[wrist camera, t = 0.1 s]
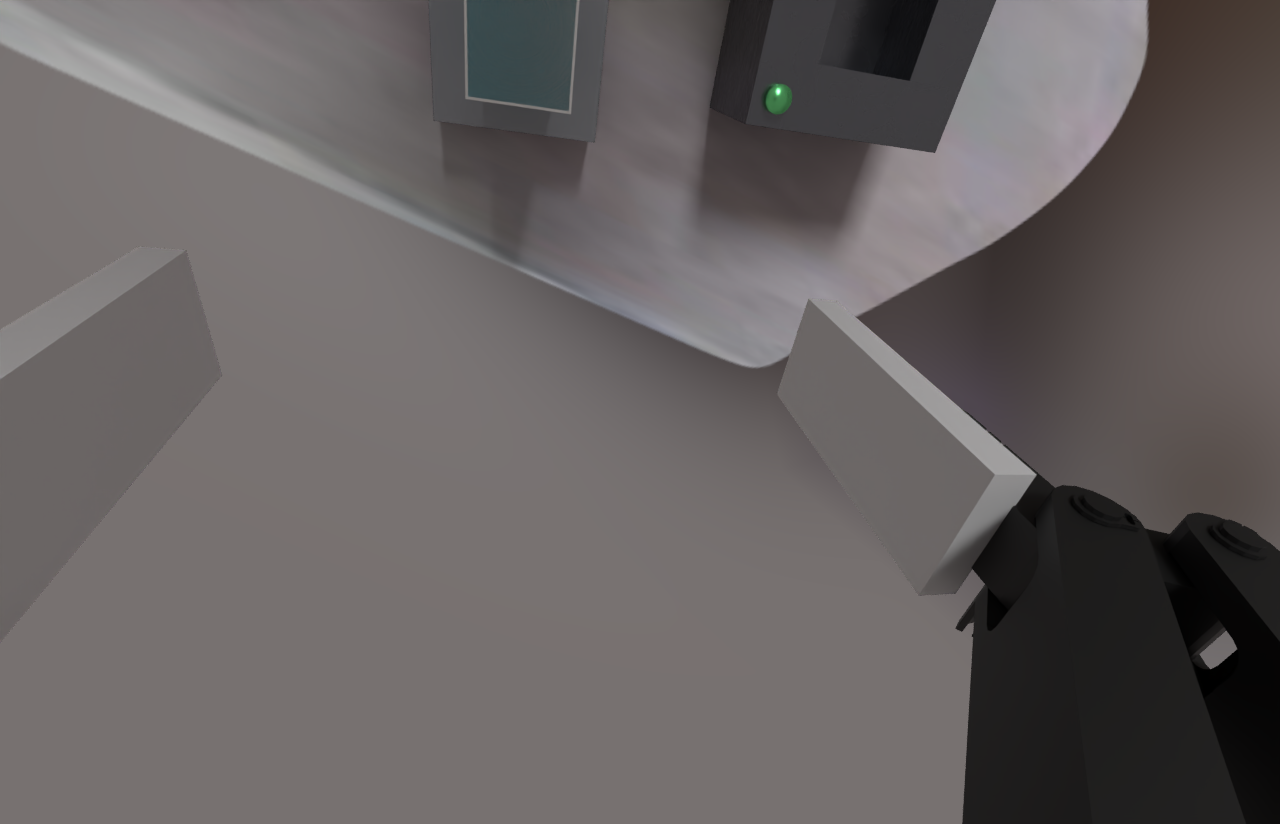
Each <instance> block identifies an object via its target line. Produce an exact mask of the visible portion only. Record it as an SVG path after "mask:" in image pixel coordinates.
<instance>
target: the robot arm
mask: <svg viewBox="0 0 1280 824" xmlns="http://www.w3.org/2000/svg"><path fill="white" fill-rule="evenodd" d="M221 376H222V373H221V369H220V366H219V362H218V359H217V356H216V352H215V349H214V345H213V342H212V338H211V335H210V331H209V328H208V324H207V321H206V317H205V314H204V311H203V307H202V303H201V300H200V297H199V293H198V290H197V286H196V282H195V279H194V275H193V272H192V269H191V265H190V262H189V258H188V255H187V251H186V250H178V249H165V248H152V247H137V248H136V249H134V250H132V251H131V252H129V253H127V254H126V255H124V256H122V257H121V258H119V259H117V260H115V261H114V262H112V263H111V264H109V265H107V266H105V267H104V268H102V269H100V270H99V271H97V272H95V273H94V274H92V275H90V276H89V277H87V278H85V279H84V280H82V281H80V282H79V283H77V284H75V285H74V286H72V287H70V288H69V289H67V290H65V291H64V292H62V293H60V294H59V295H57V296H55V297H54V298H52V299H51V300H48V301H47V302H45V303H44V304H42V305H40V306H39V307H37V308H35V309H34V310H32V311H30V312H28V313H27V314H25V315H23V316H22V317H20V318H19V319H17V320H15V321H13V322H12V323H10V324H9V325H7V326H5V327H4V328H2V329H0V643H1V641H2V640H3V639H4V638H5V636H6V635H7V634H8V633H9V632H10V630H11V629H12V628H13V627H14V626H15V624H16V623H17V622H18V621H19V620H20V618H21V617H22V616H23V615H24V614H25V612H26V611H27V610H28V609H29V608H30V606H31V605H32V604H33V603H34V602H35V600H36V599H37V598H38V597H39V596H40V594H41V593H42V592H43V591H44V589H45V588H46V587H47V586H48V585H49V583H50V582H51V581H52V580H53V578H54V577H55V576H56V575H57V574H58V573H59V571H60V570H61V569H62V568H63V566H64V565H65V564H66V563H67V562H68V560H69V559H70V558H71V557H72V556H73V554H74V553H75V552H76V551H77V550H78V548H79V547H80V546H81V545H82V544H83V542H84V541H85V540H86V539H87V538H88V536H89V535H90V534H91V533H92V531H93V530H94V529H95V528H96V527H97V526H98V524H99V523H100V522H101V521H102V519H103V518H104V517H105V516H106V515H107V513H108V512H109V511H110V510H111V508H112V507H113V506H114V505H115V504H116V503H117V501H118V500H119V499H120V498H121V496H122V495H123V494H124V493H125V492H126V490H127V489H128V488H129V487H130V486H131V485H132V483H133V482H134V481H135V480H136V478H137V477H138V476H139V475H140V474H141V472H142V471H143V470H144V469H145V468H146V466H147V465H148V464H149V463H150V462H151V460H152V459H153V458H154V457H155V455H156V454H157V453H158V452H159V451H160V449H161V448H162V447H163V446H164V445H165V443H166V442H167V441H168V440H169V439H170V437H171V436H172V435H173V434H174V433H175V431H176V430H177V429H178V428H179V426H180V425H181V424H182V423H183V422H184V421H185V419H186V418H187V417H188V416H189V415H190V413H191V412H192V411H193V410H194V408H195V407H196V406H197V405H198V403H199V402H200V401H201V400H202V399H203V398H204V396H205V395H206V394H207V393H208V392H209V390H210V389H211V388H212V387H213V386H214V384H215V383H216V382H217V381H218V380H219V378H220V377H221ZM777 395H778V396H779V398H780V399H781V400H782V402H783V403H784V405H785V406H786V407H787V409H788V410H789V412H790V413H791V415H792V416H793V418H794V419H795V420H796V422H797V423H798V425H799V426H800V428H801V429H802V430H803V432H804V433H805V435H806V436H807V437H808V439H809V440H810V442H811V443H812V445H813V446H814V447H815V449H816V450H817V452H818V453H819V454H820V456H821V457H822V459H823V460H824V462H825V463H826V464H827V466H828V467H829V469H830V470H831V471H832V473H833V474H834V476H835V477H836V479H837V480H838V481H839V483H840V484H841V486H842V487H843V489H844V490H845V491H846V493H847V494H848V496H849V497H850V499H851V500H852V501H853V503H854V504H855V506H856V507H857V508H858V510H859V511H860V513H861V514H862V516H863V517H864V518H865V520H866V521H867V523H868V524H869V526H870V527H871V528H872V530H873V531H874V533H875V534H876V536H877V537H878V538H879V540H880V541H881V542H882V544H883V546H884V547H885V548H886V550H887V551H888V553H889V554H890V555H891V557H892V558H893V559H894V561H895V563H896V564H897V565H898V567H899V568H900V570H901V571H902V573H903V574H904V575H905V577H906V578H907V580H908V581H909V582H910V584H911V585H912V587H913V588H914V589H915V591H916V592H917V594H918V595H919V596H922V595H938V594H955V593H956V592H957V591H958V589H959V588H960V586H961V585H962V583H963V582H964V580H965V579H966V578H967V576H968V574H969V573H970V572H971V570H972V569H973V570H974V571H975V573H976V574H977V575H978V576H979V577H980V579H981V580H982V581H983V582H984V583H985V585H984V587H983V588H982V590H981V591H980V592H979V594H978V595H977V596H976V598H975V599H974V601H973V602H972V603H971V605H970V606H969V608H968V609H967V610H966V612H965V613H964V615H963V616H962V618H961V619H960V620H959V622H958V624H957V626H956V629H957V630H960V631H963V630H964V628H965V627H966V626H967V624H969V623H973V622H974V631H973V634H972V637H973V649H972V650H973V651H972V667H971V684H970V701H969V720H968V736H967V753H966V754H967V755H966V771H965V789H964V805H963V823H962V824H1280V551H1279V550H1278V549H1276V548H1275V547H1274V546H1273V545H1272V544H1271V543H1269V542H1267V541H1266V540H1264V539H1263V538H1261V537H1260V536H1259V535H1258V534H1257V533H1256V532H1255V531H1253V530H1252V529H1250V528H1248V527H1246V526H1242V525H1241V524H1239V523H1237V522H1235V521H1232V520H1225V519H1222V518H1220V517H1217V516H1214V515H1208V514H1203V513H1192V514H1188V515H1187V516H1186V517H1185V518H1184V519H1183V520H1182V521H1181V522H1180V523H1179V525H1178V526H1177V527H1176V528H1175V529H1174V530H1173V531H1172V532H1171V533H1170V534H1167V533H1162V532H1158V531H1153V530H1149V529H1145V528H1144V526H1143V525H1142V523H1141V522H1140V521H1139V520H1138V519H1137V517H1136V516H1135V515H1133V514H1131V513H1130V512H1129V511H1128V510H1127V509H1125V508H1124V507H1122V506H1121V505H1119V504H1117V503H1115V502H1114V501H1112V500H1111V499H1109V498H1107V497H1104V496H1102V495H1100V494H1098V493H1096V492H1093V491H1090V490H1087V489H1084V488H1080V487H1077V486H1066V485H1065V486H1064V485H1062V486H1059V487H1056V488H1055V487H1053V486H1052V485H1051V484H1050V483H1049V482H1048V481H1046V480H1045V479H1044V478H1043V477H1042V476H1041V475H1039V474H1038V473H1037V472H1036V471H1035V470H1034V469H1033V468H1031V467H1030V466H1029V465H1028V464H1027V463H1026V462H1024V461H1023V460H1022V459H1021V458H1020V457H1019V456H1017V455H1016V454H1015V453H1014V452H1013V451H1012V450H1010V449H1009V448H1008V447H1007V446H1006V445H1002V444H1001V441H1000V440H999V439H998V438H997V437H995V436H994V435H993V434H992V433H991V432H987V431H986V428H985V427H984V426H983V425H982V424H980V423H979V422H978V421H977V420H976V419H974V418H973V417H972V416H971V415H970V414H969V413H967V412H966V411H964V410H962V409H961V408H959V407H958V406H957V405H956V404H955V403H954V402H952V401H951V400H950V399H949V398H948V397H946V395H944V394H943V393H942V392H941V391H940V390H939V389H938V388H936V387H935V386H934V385H933V384H932V383H931V382H929V381H928V380H927V379H926V378H925V377H923V375H921V374H920V373H919V372H918V371H917V370H916V369H914V368H913V367H912V366H911V365H910V364H908V362H906V361H905V360H904V359H903V358H902V357H901V356H900V355H898V354H897V353H896V352H895V351H894V350H893V349H891V348H890V347H889V346H888V345H887V344H886V343H885V342H883V341H882V340H881V339H880V338H879V337H878V336H876V335H875V334H874V333H873V332H872V331H871V330H870V329H868V328H867V327H866V326H865V325H864V324H862V323H861V322H860V321H859V320H858V319H857V318H856V317H855V316H853V315H852V314H851V313H850V312H849V311H848V310H847V309H845V308H844V307H843V306H842V305H841V304H840V303H838V302H837V301H832V300H819V299H808V302H807V305H806V308H805V311H804V314H803V317H802V320H801V323H800V326H799V329H798V332H797V335H796V338H795V341H794V344H793V347H792V350H791V353H790V356H789V360H788V363H787V366H786V369H785V372H784V375H783V378H782V381H781V384H780V387H779V390H778V393H777ZM1226 630H1227V632H1228V633H1229V635H1230V636H1231V637H1232V639H1233V640H1234V643H1235V645H1236V647H1237V650H1236V651H1235V652H1234V653H1232V654H1231V655H1230V656H1229V657H1228V658H1227V659H1225V660H1224V661H1223V662H1222V663H1221V664H1219V665H1218V666H1216V667H1214V668H1212V669H1210V668H1209V667H1208V666H1207V665H1206V664H1205V663H1204V661H1203V659H1202V658H1201V656H1200V655H1199V654H1200V653H1201V652H1202V651H1203V650H1205V649H1206V648H1207V647H1208V646H1209V645H1210V644H1211V643H1213V641H1215V640H1216V639H1217V638H1218V637H1219V636H1220V635H1222V634H1223V633H1224V632H1225V631H1226Z"/></svg>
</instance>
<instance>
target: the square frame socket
mask: <svg viewBox="0 0 1280 824" xmlns="http://www.w3.org/2000/svg"><path fill="white" fill-rule="evenodd" d="M608 2H609V0H580V1H579V14H578V27H577V41H576V54H575V67H574V81H573V94H572V107H571V114H566V113H559V112H552V111H545V110H538V109H531V108H525V107H518V106H511V105H504V104H497V103H490V102H483V101H476V100H470V99H465V42H464V0H429V23H430V46H431V69H432V93H433V116H434V121H440V122H447V123H454V124H462V125H469V126H477V127H484V128H491V129H499V130H506V131H513V132H521V133H528V134H536V135H543V136H550V137H558V138H565V139H572V140H580V141H587V142H595V135H596V125H597V114H598V104H599V94H600V84H601V73H602V63H603V53H604V43H605V32H606V22H607V12H608Z"/></svg>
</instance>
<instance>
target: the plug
mask: <svg viewBox="0 0 1280 824" xmlns="http://www.w3.org/2000/svg"><path fill="white" fill-rule="evenodd" d="M579 1H580V0H464V42H465V99H470V100H476V101H483V102H490V103H497V104H504V105H511V106H518V107H525V108H531V109H538V110H545V111H552V112H559V113H566V114H571V107H572V94H573V81H574V67H575V54H576V41H577V27H578V14H579Z"/></svg>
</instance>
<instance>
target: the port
mask: <svg viewBox="0 0 1280 824" xmlns="http://www.w3.org/2000/svg"><path fill="white" fill-rule="evenodd" d="M995 2H996V0H730V5H729V10H728V15H727V20H726V26H725V31H724V36H723V41H722V46H721V51H720V57H719V62H718V67H717V72H716V77H715V83H714V88H713V93H712V98H711V103H710V108H712V109H714V110H716V111H718V112H720V113H723V114H725V115H727V116H729V117H731V118H734V119H736V120H738V121H740V122H742V123H745V124H749V125H756V126H762V127H769V128H776V129H782V130H789V131H795V132H802V133H808V134H815V135H821V136H828V137H835V138H841V139H848V140H854V141H861V142H867V143H874V144H880V145H887V146H893V147H900V148H907V149H913V150H920V151H926V152H933V153H935V151H936V149H937V146H938V144H939V141H940V139H941V136H942V134H943V131H944V129H945V126H946V124H947V122H948V119H949V117H950V114H951V112H952V109H953V107H954V104H955V102H956V99H957V97H958V94H959V92H960V89H961V87H962V84H963V82H964V79H965V77H966V74H967V72H968V69H969V67H970V64H971V62H972V59H973V57H974V54H975V52H976V49H977V47H978V44H979V42H980V39H981V37H982V34H983V32H984V29H985V27H986V24H987V22H988V19H989V17H990V14H991V12H992V9H993V7H994V4H995Z"/></svg>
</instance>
